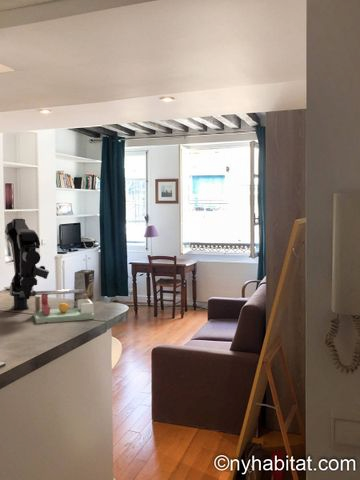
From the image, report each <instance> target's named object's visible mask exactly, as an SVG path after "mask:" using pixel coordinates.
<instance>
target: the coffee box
mask: <svg viewBox="0 0 360 480" xmlns="http://www.w3.org/2000/svg"><path fill="white" fill-rule="evenodd" d="M74 289H83V293H73V306H74V307H73V308H77V307H78V300H81V299H83V294H87V299H90V300H91V302H92V303H93V305H94V304H95V270H94V269H81V270H78V271H75V272H74V285H73V290H74Z"/></svg>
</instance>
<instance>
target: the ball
mask: <svg viewBox="0 0 360 480" xmlns="http://www.w3.org/2000/svg"><path fill="white" fill-rule="evenodd" d="M68 308H70V307H69V304H68V303H66V302H62V303H60V304H59V305H58V309H59V310H60V311H61V312H66V311H68Z"/></svg>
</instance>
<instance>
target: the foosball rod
mask: <svg viewBox="0 0 360 480" xmlns="http://www.w3.org/2000/svg"><path fill="white" fill-rule="evenodd" d="M74 293H83V289H74V288H73V289H61V290H60V289H57V290H39V291H36V290H32V291H31V293H30V297H36V296H40V299H41V300H40V305H41V310H42V312H43V314H44V315H47V314H50V309H51V305H50V304H49V303H48V301H49V300H48V298H49V295H63V294H64V295H65V294H66V295H67V294H68V295H69V294H74ZM20 297H25V295H24V292H23V291H20Z"/></svg>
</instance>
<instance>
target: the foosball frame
mask: <svg viewBox="0 0 360 480" xmlns="http://www.w3.org/2000/svg"><path fill="white" fill-rule="evenodd" d="M34 297H35V298H34V299H35V304H34V305H35V309H34V310H33V317H34V320H35V324H45V322H48V323H58V322H60V323H61V322H71V321H73V322H74V321H83V320H84V321H85V320H95V313H94V304H93V303H92V302H91V300H90V299H87V294H83V299H81V300H78V307H69V308H68V311H66V312H61V311H60V310H59V308H50V314H47V315H44V314H43V312H42V309H41V307H40V306H41V300H40V299H41V296H34Z"/></svg>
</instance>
